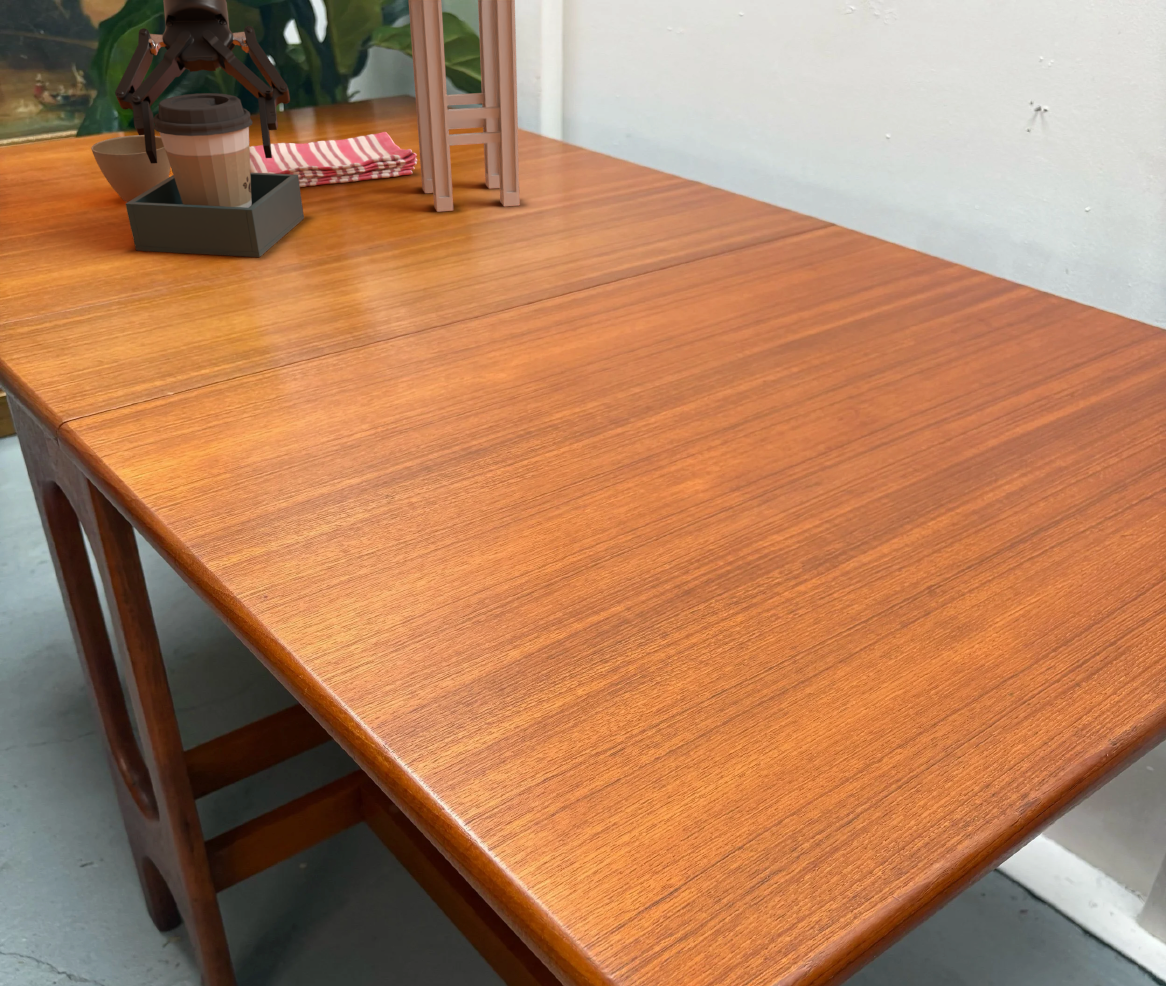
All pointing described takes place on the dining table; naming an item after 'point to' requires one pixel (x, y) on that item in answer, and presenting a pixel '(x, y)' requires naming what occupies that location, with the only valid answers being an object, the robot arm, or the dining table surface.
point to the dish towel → (336, 160)
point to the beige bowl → (131, 165)
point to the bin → (216, 219)
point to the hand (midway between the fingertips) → (210, 154)
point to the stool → (467, 101)
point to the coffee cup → (207, 148)
